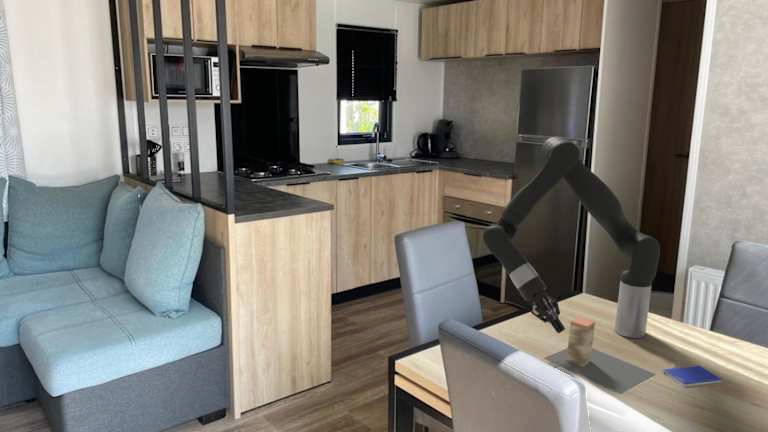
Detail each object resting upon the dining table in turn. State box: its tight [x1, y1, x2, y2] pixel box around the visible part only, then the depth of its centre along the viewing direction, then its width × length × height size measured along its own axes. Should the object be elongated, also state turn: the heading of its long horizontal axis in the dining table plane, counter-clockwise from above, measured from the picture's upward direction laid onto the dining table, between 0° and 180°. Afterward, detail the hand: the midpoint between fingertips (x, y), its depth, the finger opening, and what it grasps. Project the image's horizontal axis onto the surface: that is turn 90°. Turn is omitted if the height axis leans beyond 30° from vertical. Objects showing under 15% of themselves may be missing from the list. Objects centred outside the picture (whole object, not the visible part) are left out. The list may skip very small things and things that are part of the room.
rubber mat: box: [543, 347, 656, 394], centre depth 160 cm, size 18×24×1 cm
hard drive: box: [662, 365, 723, 387], centre depth 156 cm, size 2×8×12 cm
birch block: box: [567, 316, 596, 367], centre depth 161 cm, size 5×5×12 cm
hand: (561, 331), depth 165 cm, fingers closed
